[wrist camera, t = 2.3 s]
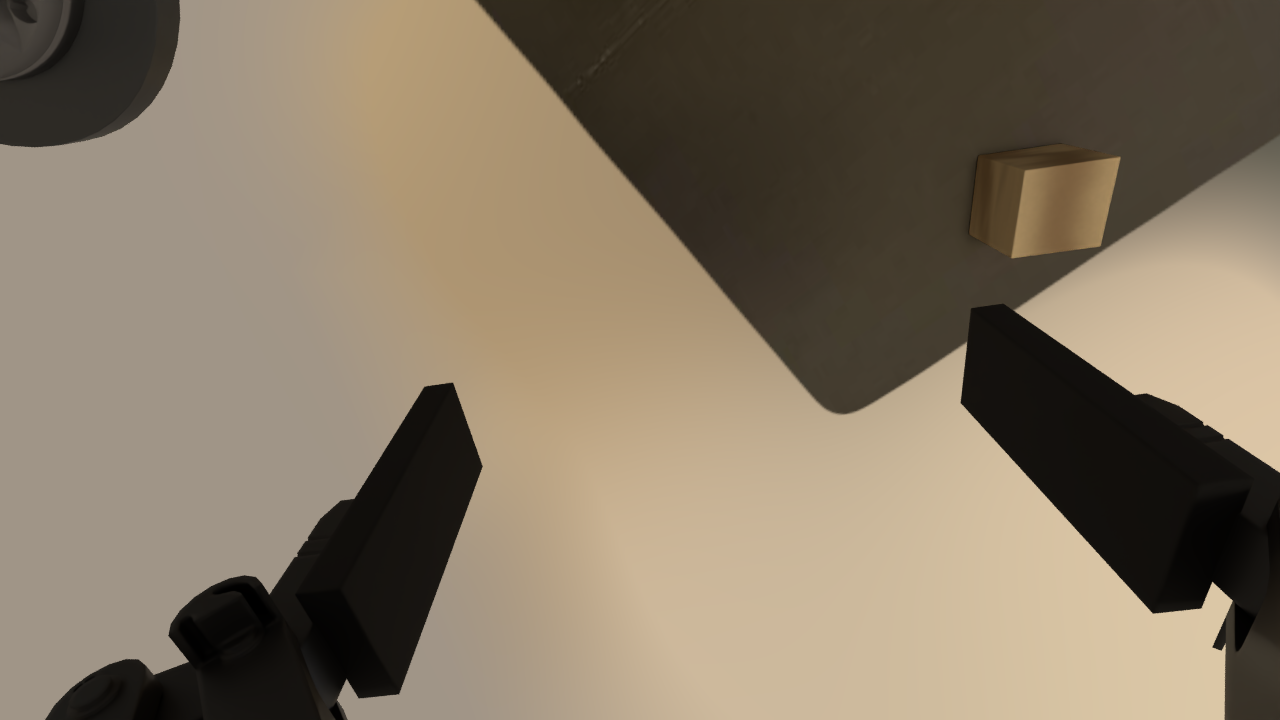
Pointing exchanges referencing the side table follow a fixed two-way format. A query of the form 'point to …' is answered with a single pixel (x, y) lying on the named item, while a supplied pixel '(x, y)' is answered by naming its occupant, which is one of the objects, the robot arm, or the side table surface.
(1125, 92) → the side table surface
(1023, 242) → the birch block
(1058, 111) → the side table surface
